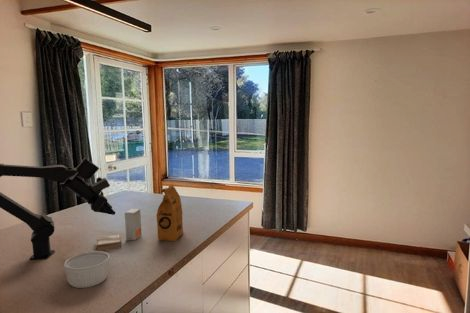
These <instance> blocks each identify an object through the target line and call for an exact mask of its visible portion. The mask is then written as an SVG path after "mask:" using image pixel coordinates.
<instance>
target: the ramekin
mask: <svg viewBox="0 0 470 313" xmlns="http://www.w3.org/2000/svg"><path fill="white" fill-rule="evenodd" d="M110 257H111V256H110V253H108V252H106V251H97V250H93V251H91V250H90V251H86V252H81V253H77V254H75V255H73V256H71V257H69V258H67V259H66V260H65V262H64V263H63V266H64V267H63V268H64V270H65V274H66V278H67V281H68V284H69V285H71V287H74V288H76V289H77V288H78V289H87V288H90V287H94V286H97V285H99V284H101V283H103V282H104V281H105V280H106V279H107V278H108V275H109V268H110V261H111V258H110Z"/></svg>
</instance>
